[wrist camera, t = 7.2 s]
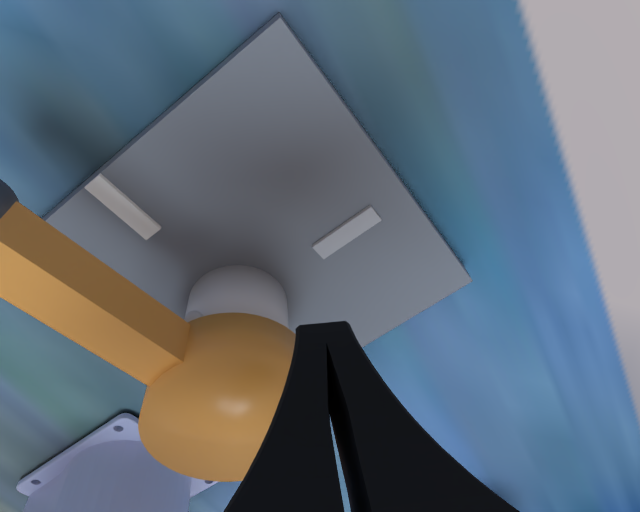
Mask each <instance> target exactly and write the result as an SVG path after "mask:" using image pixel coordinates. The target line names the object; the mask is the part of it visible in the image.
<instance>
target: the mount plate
mask: <svg viewBox="0 0 640 512" xmlns="http://www.w3.org/2000/svg"><path fill="white" fill-rule="evenodd" d="M42 219H43V220H44V221H46V222H47V223H48V224H50V225H51V226H53V227H54V228H55V229H57V230H58V231H60V232H61V233H62V234H64V235H65V236H67V237H68V238H70V239H71V240H72V241H74V242H75V243H77V244H78V245H79V246H81V247H82V248H84V249H85V250H86V251H88V252H89V253H91V254H92V255H93V256H95V257H96V258H98V259H99V260H100V261H102V262H103V263H105V264H106V265H108V266H109V267H110V268H112V269H113V270H115V271H116V272H117V273H119V274H120V275H122V276H123V277H124V278H126V279H127V280H129V281H130V282H131V283H133V284H134V285H136V286H137V287H138V288H140V289H141V290H143V291H144V292H145V293H147V294H148V295H150V296H151V297H153V298H154V299H155V300H157V301H158V302H160V303H161V304H162V305H164V306H165V307H167V308H168V309H169V310H171V311H172V312H174V313H175V314H176V315H178V316H179V317H181V318H182V319H183V320H185V321H186V322H189V321H191V320H194V319H197V318H199V317H203V316H207V315H211V314H218V313H231V312H235V313H248V314H254V315H258V316H262V317H266V318H269V319H271V320H274V321H276V322H278V323H280V324H282V325H284V326H285V327H287V328H288V329H290V330H291V331H293V332H294V333H295V334H296V328H297V327H298V326H299V325H306V324H316V323H327V322H337V321H347V322H348V323H349V324H350V326H351V328H352V330H353V332H354V334H355V336H356V338H357V340H358V342H359V344H360V345H361V347H364V346H365V345H367V344H369V343H370V342H372V341H374V340H375V339H377V338H379V337H380V336H382V335H384V334H385V333H387V332H389V331H390V330H392V329H394V328H395V327H397V326H399V325H400V324H402V323H404V322H405V321H407V320H409V319H410V318H412V317H414V316H415V315H417V314H419V313H420V312H422V311H424V310H425V309H427V308H429V307H430V306H432V305H434V304H435V303H437V302H439V301H440V300H442V299H444V298H445V297H447V296H449V295H450V294H452V293H454V292H455V291H457V290H459V289H460V288H462V287H464V286H465V285H467V284H469V283H470V282H472V279H471V277H470V276H469V274H468V272H467V271H466V269H465V267H464V266H463V264H462V263H461V261H460V260H459V259H458V257H457V256H456V255H455V253H454V252H453V250H452V249H451V248H450V246H449V245H448V244H447V242H446V241H445V239H444V238H443V237H442V235H441V234H440V233H439V231H438V230H437V228H436V227H435V226H434V224H433V223H432V222H431V220H430V219H429V217H428V216H427V215H426V213H425V212H424V211H423V209H422V208H421V206H420V205H419V204H418V202H417V201H416V200H415V198H414V197H413V195H412V194H411V193H410V191H409V190H408V189H407V187H406V186H405V184H404V183H403V182H402V180H401V179H400V178H399V176H398V175H397V173H396V172H395V171H394V169H393V168H392V167H391V165H390V164H389V162H388V161H387V160H386V158H385V157H384V156H383V154H382V153H381V151H380V150H379V149H378V147H377V146H376V145H375V143H374V142H373V140H372V139H371V138H370V136H369V135H368V134H367V132H366V131H365V129H364V128H363V127H362V125H361V124H360V123H359V121H358V120H357V118H356V117H355V116H354V114H353V113H352V112H351V110H350V109H349V107H348V106H347V105H346V103H345V102H344V101H343V99H342V98H341V96H340V95H339V94H338V92H337V91H336V90H335V88H334V87H333V85H332V84H331V83H330V81H329V80H328V79H327V77H326V76H325V74H324V73H323V72H322V70H321V69H320V68H319V66H318V65H317V63H316V62H315V61H314V59H313V58H312V57H311V55H310V54H309V52H308V51H307V50H306V48H305V47H304V46H303V44H302V43H301V41H300V40H299V39H298V37H297V36H296V35H295V33H294V32H293V30H292V29H291V28H290V26H289V25H288V24H287V22H286V21H285V19H284V18H283V17H282V15H281V14H280V13H278V14H276V15H275V16H274V17H273V18H272V19H271V20H270V21H268V22H267V23H266V24H265V25H264V26H263V27H261V28H260V29H259V30H258V31H257V32H256V33H255V34H253V35H252V36H251V37H250V38H249V39H248V40H247V41H245V42H244V43H243V44H242V45H241V46H240V47H238V48H237V49H236V50H235V51H234V52H233V53H232V54H230V55H229V56H228V57H227V58H226V59H225V60H224V61H222V62H221V63H220V64H219V65H218V66H217V67H215V68H214V69H213V70H212V71H211V72H210V73H209V74H207V75H206V76H205V77H204V78H203V79H202V80H201V81H199V82H198V83H197V84H196V85H195V86H194V87H192V88H191V89H190V90H189V91H188V92H187V93H186V94H184V95H183V96H182V97H181V98H180V99H179V100H178V101H176V102H175V103H174V104H173V105H172V106H171V107H169V108H168V109H167V110H166V111H165V112H164V113H163V114H161V115H160V116H159V117H158V118H157V119H156V120H155V121H153V122H152V123H151V124H150V125H149V126H148V127H146V128H145V129H144V130H143V131H142V132H141V133H140V134H138V135H137V136H136V137H135V138H134V139H133V140H131V141H130V142H129V143H128V144H127V145H126V146H125V147H123V148H122V149H121V150H120V151H119V152H118V153H117V154H115V155H114V156H113V157H112V158H111V159H110V160H108V161H107V162H106V163H105V164H104V165H103V166H102V167H100V168H99V169H98V170H97V171H96V172H95V173H94V174H92V175H91V176H90V177H89V178H88V179H87V180H85V181H84V182H83V183H82V184H81V185H80V186H79V187H77V188H76V189H75V190H74V191H73V192H72V193H71V194H69V195H68V196H67V197H66V198H65V199H64V200H62V201H61V202H60V203H59V204H58V205H57V206H56V207H54V208H53V209H52V210H51V211H50V212H49V213H48V214H46V215H45V216H44V217H43V218H42Z"/></svg>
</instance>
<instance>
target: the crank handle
mask: <svg viewBox="0 0 640 512" xmlns="http://www.w3.org/2000/svg"><path fill="white" fill-rule="evenodd" d="M0 297H1V298H3V299H4V300H6V301H8V302H9V303H11V304H13V305H14V306H16V307H18V308H19V309H21V310H23V311H24V312H26V313H28V314H29V315H31V316H33V317H34V318H36V319H38V320H39V321H41V322H43V323H44V324H46V325H48V326H49V327H51V328H53V329H54V330H56V331H57V332H59V333H61V334H62V335H64V336H66V337H67V338H69V339H71V340H72V341H74V342H76V343H77V344H79V345H81V346H82V347H84V348H86V349H87V350H89V351H91V352H92V353H94V354H96V355H97V356H99V357H101V358H102V359H104V360H106V361H107V362H109V363H111V364H112V365H114V366H116V367H117V368H119V369H121V370H122V371H124V372H126V373H127V374H129V375H131V376H132V377H134V378H136V379H137V380H139V381H141V382H142V383H144V384H146V385H147V388H146V392H145V396H144V400H143V404H142V408H141V412H140V415H139V422H138V431H139V435H140V439H141V441H142V443H143V445H144V447H145V448H146V450H147V451H148V452H149V453H150V454H151V455H152V456H153V457H154V458H155V459H156V460H157V461H158V462H160V463H161V464H162V465H164V466H166V467H167V468H169V469H171V470H173V471H175V472H178V473H180V474H183V475H186V476H189V477H193V478H197V479H202V480H208V481H219V482H233V481H243V479H244V477H245V475H246V473H247V472H248V470H249V468H250V466H251V464H252V462H253V460H254V458H255V456H256V454H257V452H258V450H259V448H260V446H261V444H262V442H263V440H264V438H265V435H266V433H267V431H268V429H269V426H270V424H271V422H272V419H273V417H274V414H275V411H276V409H277V406H278V403H279V400H280V398H281V395H282V392H283V389H284V386H285V383H286V379H287V376H288V372H289V369H290V365H291V361H292V356H293V351H294V345H295V336H296V334H295V333H294V332H293V331H291V330H290V329H288V328H287V327H285V326H284V325H282V324H280V323H278V322H276V321H274V320H271V319H269V318H266V317H262V316H258V315H254V314H248V313H235V312H231V313H218V314H211V315H207V316H203V317H199V318H197V319H194V320H191V321H189V322H186V321H185V320H183V319H182V318H181V317H179V316H178V315H176V314H175V313H174V312H172V311H171V310H169V309H168V308H167V307H165V306H164V305H162V304H161V303H160V302H158V301H157V300H155V299H154V298H153V297H151V296H150V295H148V294H147V293H145V292H144V291H143V290H141V289H140V288H138V287H137V286H136V285H134V284H133V283H131V282H130V281H129V280H127V279H126V278H124V277H123V276H122V275H120V274H119V273H117V272H116V271H115V270H113V269H112V268H110V267H109V266H108V265H106V264H105V263H103V262H102V261H100V260H99V259H98V258H96V257H95V256H93V255H92V254H91V253H89V252H88V251H86V250H85V249H84V248H82V247H81V246H79V245H78V244H77V243H75V242H74V241H72V240H71V239H70V238H68V237H67V236H65V235H64V234H62V233H61V232H60V231H58V230H57V229H55V228H54V227H53V226H51V225H50V224H48V223H47V222H46V221H44V220H43V219H41V218H40V217H39V216H37V215H36V214H34V213H33V212H32V211H30V210H29V209H27V208H26V207H25V206H23V205H22V204H20V203H19V200H18V198H17V196H16V195H15V193H14V192H13V190H12V189H11V188H10V187H9V186H8V185H7V184H6V183H5V182H3V181H2V180H0Z"/></svg>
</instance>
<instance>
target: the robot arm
mask: <svg viewBox="0 0 640 512" xmlns="http://www.w3.org/2000/svg"><path fill="white" fill-rule="evenodd" d="M330 417H331V422H332V426H333V430H334V435H335V439H336V444H337V448H338V452H339V457H340V461H341V465H342V470H343V474H344V479H345V483H346V487H347V492H348V497H349V502H350V508H351V512H520V511H518V510H517V509H515V508H514V507H513V506H511V505H510V504H509V503H507V502H506V501H505V500H503V499H502V498H501V497H499V496H498V495H497V494H495V493H494V492H493V491H491V490H490V489H489V488H488V487H487V486H485V485H484V484H483V483H482V482H480V481H479V480H478V479H477V478H475V477H474V476H473V475H472V474H471V473H470V472H468V471H467V470H466V469H465V468H464V467H463V466H462V465H461V464H460V463H458V462H457V461H456V460H455V459H454V458H453V457H452V456H451V455H450V454H448V453H447V452H446V451H445V450H444V449H443V448H442V447H441V446H440V445H439V444H438V443H437V442H436V441H435V440H434V439H433V438H432V437H431V436H430V435H429V434H428V433H427V432H426V431H425V430H424V429H423V428H422V427H421V426H420V425H419V423H418V422H417V421H416V420H415V419H414V418H413V417H412V416H411V415H410V413H409V412H408V411H407V410H406V409H405V407H404V406H403V405H402V404H401V403H400V401H399V400H398V399H397V398H396V396H395V395H394V394H393V393H392V391H391V390H390V389H389V387H388V386H387V385H386V383H385V382H384V381H383V379H382V378H381V376H380V375H379V373H378V372H377V371H376V369H375V368H374V366H373V365H372V363H371V362H370V360H369V359H368V357H367V355H366V354H365V352H364V350H363V349H362V347H361V345H360V344H359V342H358V340H357V338H356V336H355V334H354V332H353V330H352V328H351V326H350V324H349V323H348V322H347V321H337V322H327V323H316V324H306V325H299V326H298V327H297V328H296V336H295V345H294V351H293V356H292V361H291V365H290V369H289V372H288V376H287V379H286V383H285V386H284V389H283V392H282V395H281V398H280V400H279V403H278V406H277V409H276V411H275V414H274V417H273V419H272V422H271V424H270V426H269V429H268V431H267V433H266V435H265V438H264V440H263V442H262V444H261V446H260V448H259V450H258V452H257V454H256V456H255V458H254V460H253V462H252V464H251V466H250V468H249V470H248V472H247V473H246V475H245V477H244V479H243V481H242V482H241V484H240V486H239V487H238V489H237V491H236V492H235V494H234V496H233V497H232V499H231V500H230V502H229V504H228V505H227V507H226V509H225V510H224V512H344V507H343V501H342V495H341V489H340V483H339V477H338V471H337V465H336V459H335V453H334V447H333V440H332V434H331V427H330ZM138 422H139V419H138V418H137V417H135V416H133V415H131V414H129V413H122V414H120V415H118V416H116V417H115V418H113V419H112V420H110V421H109V422H107V423H106V424H104V425H103V426H101V427H100V428H98V429H97V430H95V431H94V432H92V433H91V434H89V435H88V436H86V437H85V438H83V439H82V440H80V441H79V442H77V443H76V444H74V445H73V446H71V447H70V448H68V449H67V450H65V451H64V452H62V453H60V454H59V455H57V456H56V457H54V458H53V459H51V460H50V461H48V462H47V463H45V464H44V465H42V466H41V467H39V468H38V469H36V470H35V471H33V472H32V473H30V474H29V475H27V476H26V477H24V478H23V479H21V480H20V481H19V482H18V484H17V486H16V489H17V490H18V491H19V492H20V493H22V494H25V495H27V496H29V498H28V500H27V502H26V505H25V507H24V510H23V512H188V507H189V499H190V498H191V497H193V496H194V495H196V494H198V493H200V492H201V491H203V490H205V489H207V488H209V487H210V486H212V485H214V484H216V483H217V482H219V481H208V480H202V479H197V478H193V477H189V476H186V475H183V474H180V473H178V472H175V471H173V470H171V469H169V468H167V467H166V466H164V465H162V464H161V463H160V462H158V461H157V460H156V459H155V458H154V457H153V456H152V455H151V454H150V453H149V452H148V451H147V450H146V448H145V447H144V445H143V443H142V441H141V439H140V435H139V431H138Z"/></svg>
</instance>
